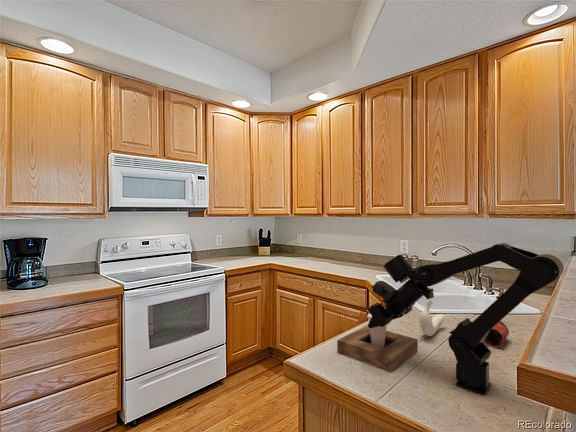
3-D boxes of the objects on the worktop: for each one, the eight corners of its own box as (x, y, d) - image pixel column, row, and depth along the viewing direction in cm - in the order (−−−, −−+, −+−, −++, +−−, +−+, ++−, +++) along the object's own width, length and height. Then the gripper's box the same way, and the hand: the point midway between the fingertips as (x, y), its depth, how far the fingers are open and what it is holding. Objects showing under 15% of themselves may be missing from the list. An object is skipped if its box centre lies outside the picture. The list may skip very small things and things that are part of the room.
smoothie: (378, 340, 102) (378, 298, 102) (393, 348, 96) (392, 302, 97) (363, 344, 99) (362, 300, 100) (377, 352, 94) (376, 305, 94)
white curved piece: (445, 328, 118) (445, 290, 118) (431, 344, 104) (431, 300, 104) (431, 325, 121) (431, 288, 121) (416, 341, 107) (416, 298, 107)
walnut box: (417, 351, 98) (417, 339, 98) (391, 372, 85) (391, 357, 85) (366, 336, 111) (366, 325, 111) (337, 352, 98) (337, 340, 98)
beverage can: (510, 340, 107) (510, 321, 107) (503, 351, 99) (503, 330, 99) (486, 335, 112) (486, 316, 112) (477, 345, 104) (477, 325, 104)
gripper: (402, 269, 102) (372, 297, 110) (373, 277, 89) (341, 309, 96) (427, 297, 97) (393, 325, 104) (400, 310, 83) (364, 341, 91)
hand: (374, 324), depth 99 cm, fingers closed on smoothie, 6 cm apart
